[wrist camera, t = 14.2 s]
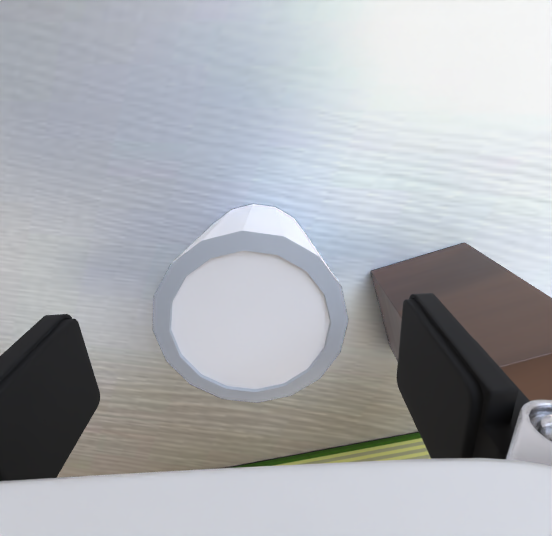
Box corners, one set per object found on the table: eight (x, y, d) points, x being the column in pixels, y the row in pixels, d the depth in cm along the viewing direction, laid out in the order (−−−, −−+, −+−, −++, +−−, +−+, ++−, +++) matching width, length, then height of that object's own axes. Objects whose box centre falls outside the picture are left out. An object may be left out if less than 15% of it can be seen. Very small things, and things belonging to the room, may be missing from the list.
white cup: (342, 285, 20) (376, 365, 14) (230, 333, 21) (211, 428, 15) (289, 167, 18) (300, 194, 11) (165, 227, 19) (110, 285, 12)
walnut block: (370, 270, 20) (442, 381, 11) (465, 242, 19) (613, 336, 11) (389, 346, 22) (465, 490, 13) (476, 322, 21) (612, 455, 13)
